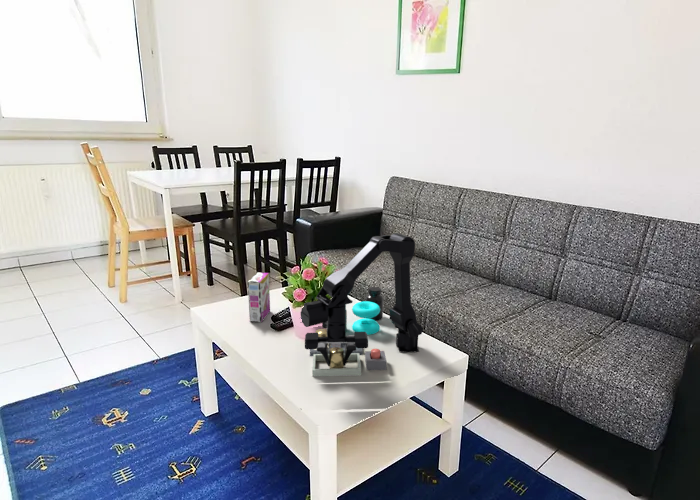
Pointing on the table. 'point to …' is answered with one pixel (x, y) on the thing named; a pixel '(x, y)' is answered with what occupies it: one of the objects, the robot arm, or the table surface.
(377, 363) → the grey square socket block
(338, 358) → the billet
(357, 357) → the tray
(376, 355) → the button
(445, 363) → the table surface
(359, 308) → the donuts
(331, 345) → the grey flat frame
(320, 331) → the cylinder
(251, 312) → the candy bar box
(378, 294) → the supplement bottle
